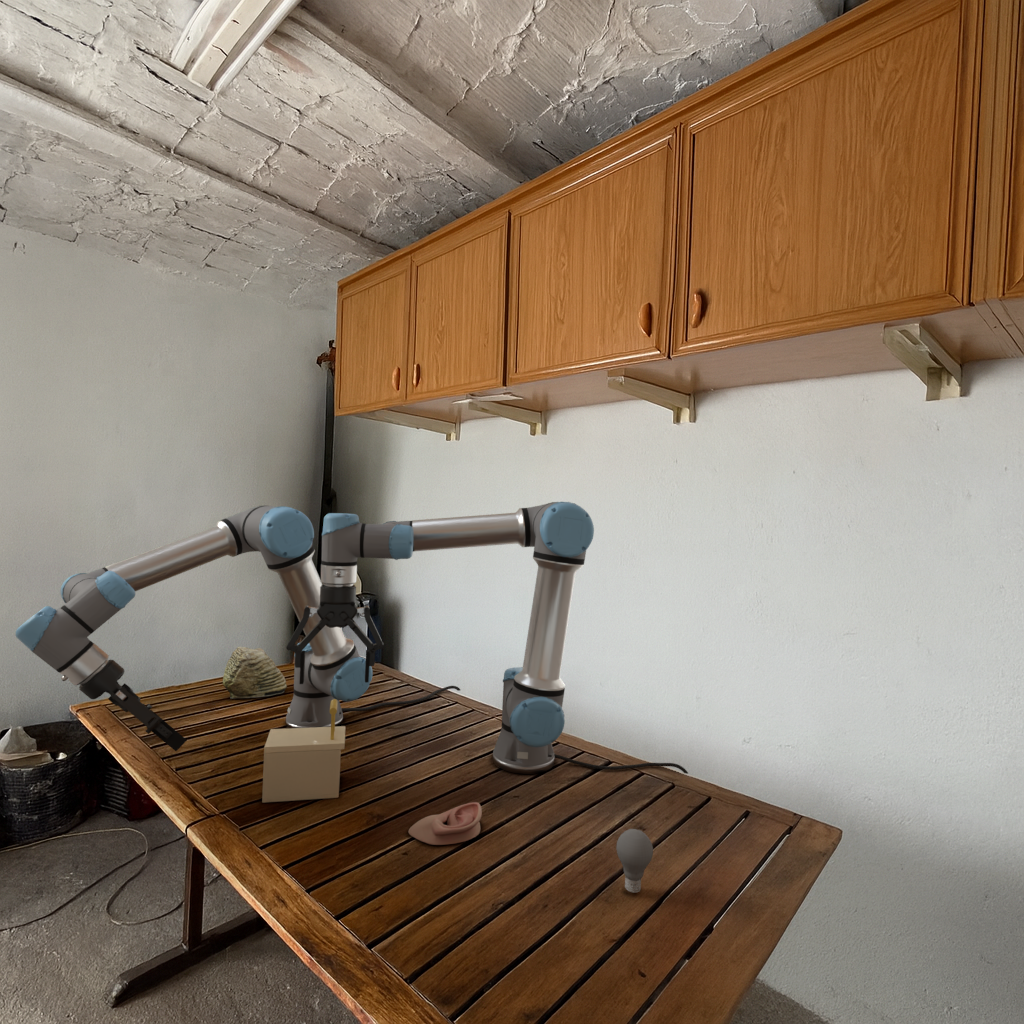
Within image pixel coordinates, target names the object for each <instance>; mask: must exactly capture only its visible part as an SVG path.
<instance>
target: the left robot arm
mask: <svg viewBox="0 0 1024 1024" xmlns="http://www.w3.org/2000/svg"><path fill="white" fill-rule="evenodd" d="M314 538H315V530H314V526H313V523H312V522H311V519H310V518H309V516H307V515H306V514H305V513H304V512H302V511H301V510H298V509H296V508H294V507H290V506H285V505H284V506H283V505H282V506H273V505H257V506H252V507H250V508H247V509H245V510H243V511H240V512H238V513H234V514H233V515H230V516H228V517H225V518H223V519H220V520H217V521H216V523H215V525H214V526H212V527H210V528H207V529H205V530H201V531H199V532H196V533H194V534H190V535H188V536H186V537H183V538H180V539H177V540H174V541H171V542H169V543H165V544H163V545H161V546H159V547H156V548H153V549H149V550H147V551H145V552H142V553H139V554H136V555H134V556H131V557H128V558H126V559H123V560H120V561H117V562H114V563H111V564H109V565H107V566H104V567H102V568H98V569H95V570H93V571H90V572H79V573H75V574H72V575H70V576H68V577H67V578H66V579H65V580H64V581H63V583H61V586H60V596H61V598H62V601H63V602H64V603H65V604H63V605H62V606H61V607H59V608H57V609H56V608H53V607H52V606H50V605H46V606H44V607H42V608H41V609H40V610H39V611H38V612H36V613H34V615H32V616H31V617H29V618H28V619H27V620H25V621H24V622H23V623H22V624H20V626H18V627H17V629H15V637H16V639H17V640H18V641H20V642H21V643H22V645H24V646H25V647H26V648H27V649H29V650H30V651H31V652H32V653H33V654H34V655H35V656H37V657H38V658H39V659H40V660H42V661H43V662H44V663H46V664H47V665H48V666H50V667H51V668H52V669H53V670H55V671H56V672H57V673H59V674H60V675H61V677H60V679H61V681H62V682H66V681H67V680H68V681H69V683H71V684H72V685H73V686H79V687H78V690H79V691H80V692H82V693H83V694H84V695H85V696H86V697H88V698H89V699H90V700H96V699H98V698H100V697H101V696H103V694H105V693H106V694H109V695H110V696H109V697H108V698H107V700H108V701H109V702H111V704H113V705H114V706H116V707H118V708H120V709H121V710H122V711H123V712H125V713H130V714H131V715H132V716H133V717H135V718H136V719H137V720H138V721H140V722H141V723H142V724H143V725H144V726H145V727H146V728H147V729H145V732H146V733H147V734H150V733H153V734H154V735H155V736H156V737H157V738H159V739H160V740H161V741H163V742H164V743H165V744H166V745H167V746H168V747H170V748H171V749H172V750H173V751H174V752H177V751H178V750H179V749H180V748H181V747H182V746H184V744H185V743H186V742H187V741H188V740H187V738H185V737H184V736H183V735H182V734H180V733H179V732H178V731H177V730H176V729H175V728H174V727H172V726H171V725H170V724H168V722H166V721H165V720H164V719H163V718H162V717H160V716H159V715H158V714H157V713H156V712H154V711H153V710H152V708H153V706H152V705H151V704H150V703H148V704H145V703H142V702H141V698H140V696H139V695H138V694H136V693H135V692H134V690H133V688H131V687H130V686H129V685H128V684H126V682H125V683H123V684H122V685H121V684H119V680H120V679H122V677H123V675H124V674H125V668H124V667H123V666H121V665H120V664H118V662H116V660H114V659H109V657H110V655H108V653H107V652H105V651H104V649H102V648H101V647H100V646H98V645H97V644H95V642H93V641H92V640H90V639H89V638H88V637H89V636H90V635H92V634H93V633H95V632H96V631H97V630H98V629H99V628H100V627H102V626H103V625H104V624H105V623H106V622H108V621H109V620H110V619H111V618H112V617H114V616H115V615H116V614H117V613H119V612H120V611H121V610H122V609H124V608H125V607H126V606H127V605H128V604H129V603H130V602H131V601H132V600H133V599H134V598H135V596H136V592H138V591H140V590H142V589H145V588H148V587H151V586H153V585H155V584H158V583H160V582H163V581H165V580H168V579H171V578H172V577H176V576H178V575H180V574H182V573H183V574H184V573H185V572H188V571H190V570H193V569H196V568H198V567H200V566H203V565H206V564H208V563H211V562H213V561H215V560H217V559H220V558H224V557H226V556H229V557H232V558H234V557H237V556H239V555H242V554H245V553H252V552H253V553H254V552H260V554H261V556H262V558H263V561H264V562H265V565H266V567H267V569H268V570H269V571H271V572H275V573H277V575H278V577H279V579H280V582H281V584H282V586H283V588H284V591H285V593H286V595H287V597H288V599H289V602H290V604H291V606H292V609H293V611H294V613H295V615H296V617H297V619H298V622H299V623H300V621H301V620H302V618H303V614H304V609H305V607H306V606H307V605H309V606H310V607H316V608H318V607H319V605H320V587H321V585H323V583H322V582H321V577H320V575H319V573H318V571H317V568H316V565H315V564H314V561H313V556H314V554H315V552H316V550H315V547H314V545H313V540H314ZM320 620H321V618H320V617H319V615H318V614H317V613H315V614H314V615H313V616H312V617H309V619H308V621H307V623H306V625H305V627H304V628H303V630H302V631H303V633H304V635H305V637H306V636H307V635H308V634H309V632H310V631H311V630H312V629H313V628H314V627H315V626H316V625H317V624H318V622H319V621H320ZM299 643H300V642H297V644H296V645H298V644H299ZM302 651H305V673H304V683H303V684H300V668H296V667H295V666H294V672H293V695H292V696H293V697H292V699H291V702H290V704H289V706H288V708H287V710H286V711H287V713H286V715H285V726H286V728H287V729H289V728H313V727H331V714H330V704H331V700H333V699H336V700H337V701H338V705H337V713H336V714H335V727H338V726H340V725H342V723H343V722H344V714H343V712H366V711H371V710H374V709H377V708H380V707H385V706H400V705H410V704H414V703H420V702H423V701H426V700H428V699H431V698H432V697H433V696H435V695H436V694H439V693H443V692H445V691H448V690H450V689H452V690H456V691H458V692H460V691H461V688H460V687H458V686H456V685H448V686H445V687H443V688H439V689H436V690H434V691H432V692H431V693H430V694H428V695H426V696H422V697H420V698H416V699H411V700H402V701H386V702H381V703H376V704H374V705H370V706H367V707H342V706H341V702H345V703H347V702H353V701H357V700H358V699H359V698H361V697H362V696H363V695H364V694H365V693H366V692H367V690H369V687H370V684H371V682H372V679H373V673H374V672H373V666H369V682H365V663H366V657H362V656H360V653H359V651H358V648H357V646H356V645H355V642H354V640H353V639H351V638H349V637H345V634H344V631H343V628H339V627H334V628H329V627H327V626H326V625H325V626H324V627H323V629H322V630H320V631H319V633H318V634H317V635H316V636H315V637H314V638H313V639H312V640H311V641H310V642H309V643H308V644H307V646H306V647H305V648H304V649H303V650H302ZM293 657H294V658H295V654H294V655H293ZM340 701H341V702H340Z"/></svg>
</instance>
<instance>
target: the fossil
mask: <svg viewBox="0 0 1024 1024" xmlns="http://www.w3.org/2000/svg"><path fill="white" fill-rule="evenodd" d="M222 676H223V677H222V685H223V687H224V688H225V690H226V691H228V693H229V698H230V699H250V698H264V697H271V696H275V695H281V694H284V693H285V691H286V689H287V687H288V686H287V680H286V678H285V676H284V674H283V673H282V672H281V669H279V668H278V667H277V665H276V663H275V662H274V660H273V659H272V658H271V657H270V656H269V655H268V654H267V653H266V652H265V650H264V649H263V648H260V647H258V648H251V647H247V646H246V647H245V646H238V647H237V648H236V649H235V650H233V651H232V653H231V656H230V657H229V659H228V660H227V663H226V666H225V668H224V671H223V675H222Z"/></svg>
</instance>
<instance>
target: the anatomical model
mask: <svg viewBox="0 0 1024 1024" xmlns="http://www.w3.org/2000/svg"><path fill="white" fill-rule="evenodd" d="M482 814H483V809H482V806H481V804H480V803H479V802H477V801H471V802H467V803H464V804H460V805H458V806H456V807H453V808H451V809H448V810H446V811H443V812H442V813H438V814H431V815H428V816H424V817H423V818H421V819H419V820H418V821H416V822H415V823H413V825H412V826H410V828H409V829H408V830H407V831H408V834H409V836H411V837H412V838H414V839H416V840H418V841H419V842H422V843H425V844H428V845H431V846H443V845H454V844H459V843H463V842H466V841H469V840H472V839H474V838H476V837H477V836H479V834H480V832H481V823H480V821H481V819H482V816H483V815H482Z"/></svg>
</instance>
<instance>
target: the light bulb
mask: <svg viewBox="0 0 1024 1024" xmlns="http://www.w3.org/2000/svg"><path fill="white" fill-rule="evenodd" d="M615 849H616V854H617V857H618V859H619V861H620V863H621V865H622V867H623V873H624V874H623V875H624V876H625V878H624V888H625V890H627V891H628V892H630V893H634V894H635V893H639V892H640V891H641V889H642V887H641V886H642V879H643V877H644V875H645V871H646V868H647V867H648V866H649V864H650V863H651V861H652V859H653V855H654V847H653V843H652V841H651V838H649V836H648V835H647V834H646V833H645V832H643V831H642V830H641V829H636V828H629V829H627V830H625V831H623V832H622V833H621V834H620V835H619V837H618V839H617V841H616V847H615Z"/></svg>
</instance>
